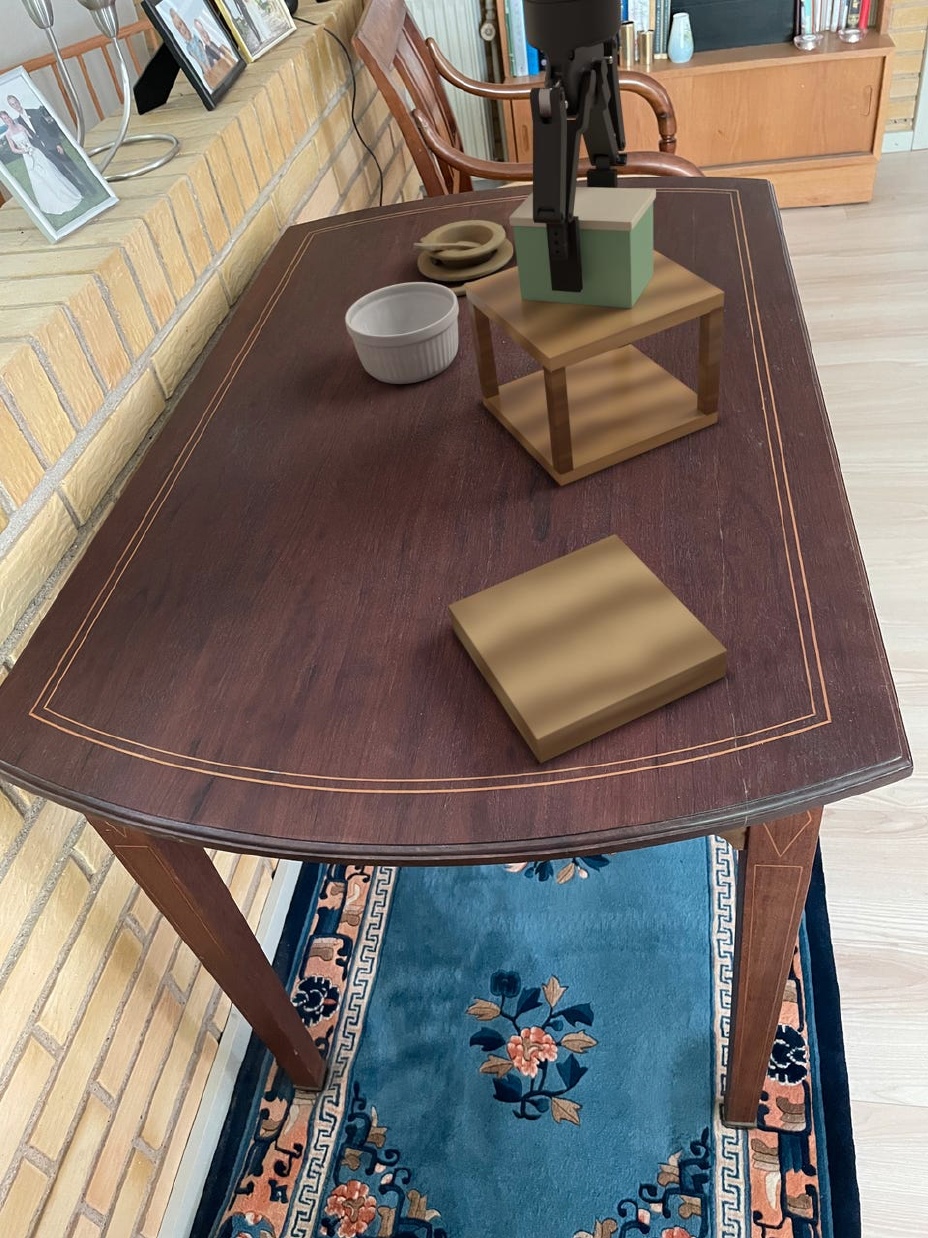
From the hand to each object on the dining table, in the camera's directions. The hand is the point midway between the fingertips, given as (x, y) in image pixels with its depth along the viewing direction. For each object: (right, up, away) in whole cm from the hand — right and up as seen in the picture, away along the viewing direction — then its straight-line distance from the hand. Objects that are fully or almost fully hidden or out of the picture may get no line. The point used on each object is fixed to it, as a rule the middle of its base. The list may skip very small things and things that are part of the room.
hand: (586, 263), depth 86 cm
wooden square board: (-2, -36, -12) cm, 38 cm away
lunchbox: (0, -2, +2) cm, 2 cm away
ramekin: (-18, -2, +25) cm, 31 cm away
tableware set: (-3, +17, +41) cm, 45 cm away
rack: (+2, -11, +12) cm, 16 cm away
